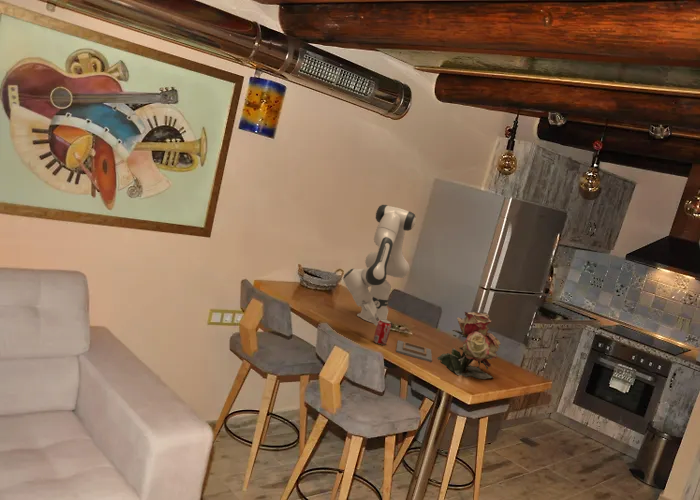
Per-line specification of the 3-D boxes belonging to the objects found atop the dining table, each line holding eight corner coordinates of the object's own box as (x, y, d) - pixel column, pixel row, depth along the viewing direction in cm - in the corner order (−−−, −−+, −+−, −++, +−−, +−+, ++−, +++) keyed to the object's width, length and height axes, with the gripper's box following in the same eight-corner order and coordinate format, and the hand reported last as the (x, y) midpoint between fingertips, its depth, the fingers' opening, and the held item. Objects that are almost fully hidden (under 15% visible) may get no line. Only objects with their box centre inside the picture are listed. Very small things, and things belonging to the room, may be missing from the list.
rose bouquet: (460, 379, 291) (477, 318, 286) (432, 356, 317) (447, 300, 313) (505, 384, 300) (522, 326, 296) (474, 361, 327) (490, 308, 323)
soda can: (387, 344, 318) (393, 321, 316) (384, 346, 311) (390, 324, 310) (374, 339, 320) (380, 317, 318) (371, 342, 313) (377, 319, 312)
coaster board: (397, 341, 327) (398, 337, 327) (430, 351, 325) (431, 347, 325) (396, 352, 307) (397, 348, 307) (431, 362, 306) (432, 358, 305)
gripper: (367, 300, 303) (381, 324, 304) (370, 292, 324) (384, 315, 324) (356, 306, 304) (370, 330, 305) (360, 298, 324) (373, 321, 325)
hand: (377, 322), depth 315 cm, fingers open, 8 cm apart
